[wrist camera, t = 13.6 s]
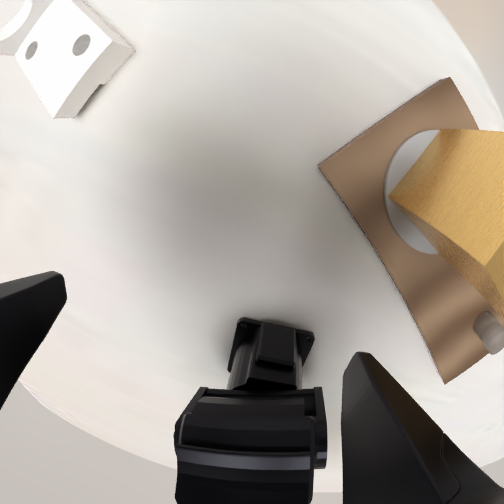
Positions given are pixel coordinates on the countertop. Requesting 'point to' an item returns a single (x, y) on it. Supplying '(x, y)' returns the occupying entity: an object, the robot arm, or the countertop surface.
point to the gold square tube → (461, 205)
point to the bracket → (63, 52)
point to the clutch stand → (408, 235)
